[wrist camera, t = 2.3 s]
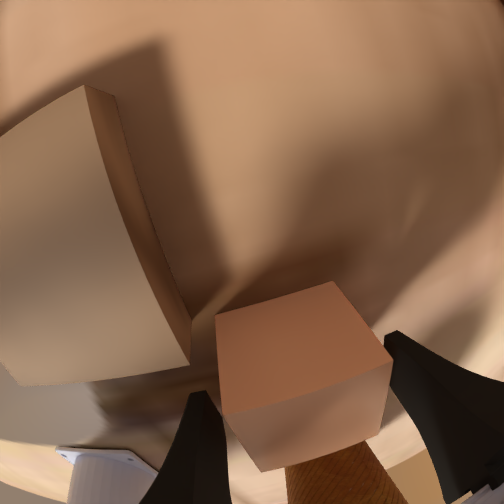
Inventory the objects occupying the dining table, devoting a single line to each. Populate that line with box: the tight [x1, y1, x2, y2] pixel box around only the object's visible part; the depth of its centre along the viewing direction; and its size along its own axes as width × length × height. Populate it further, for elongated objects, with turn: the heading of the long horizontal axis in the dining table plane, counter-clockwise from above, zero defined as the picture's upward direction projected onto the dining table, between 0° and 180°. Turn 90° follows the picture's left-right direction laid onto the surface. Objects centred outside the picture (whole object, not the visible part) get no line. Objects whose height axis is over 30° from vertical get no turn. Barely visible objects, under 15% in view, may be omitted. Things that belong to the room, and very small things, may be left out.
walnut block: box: [0, 85, 192, 386], centre depth 8 cm, size 9×9×3 cm
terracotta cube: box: [215, 281, 393, 472], centre depth 10 cm, size 5×5×5 cm
